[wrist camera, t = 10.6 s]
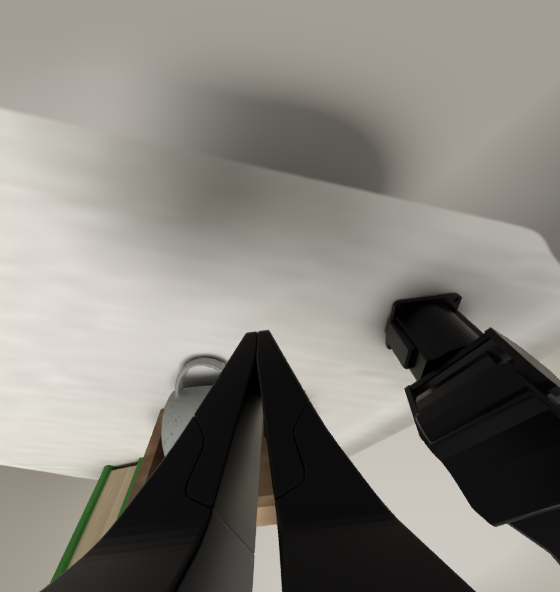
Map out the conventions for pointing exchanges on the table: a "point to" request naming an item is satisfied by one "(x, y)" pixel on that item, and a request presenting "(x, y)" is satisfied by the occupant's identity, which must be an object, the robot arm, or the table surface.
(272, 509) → the wooden storage tray
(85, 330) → the table surface
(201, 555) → the robot arm
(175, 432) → the ceramic mug
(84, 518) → the hardback book
